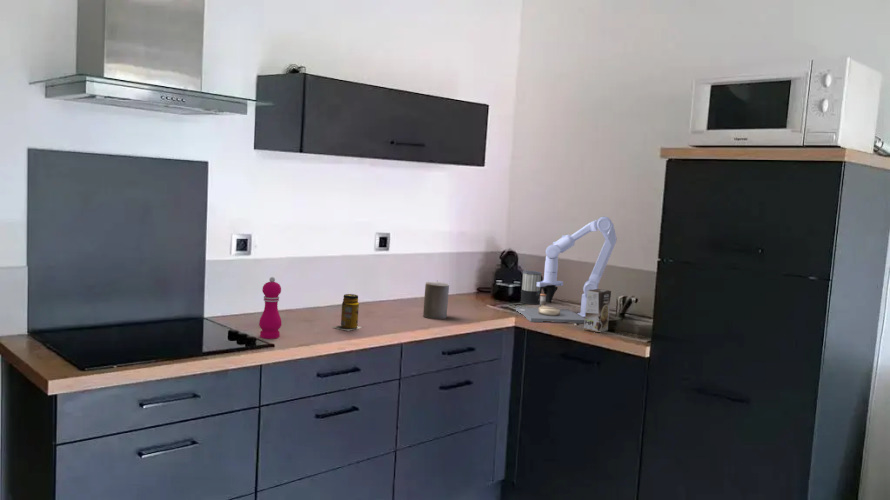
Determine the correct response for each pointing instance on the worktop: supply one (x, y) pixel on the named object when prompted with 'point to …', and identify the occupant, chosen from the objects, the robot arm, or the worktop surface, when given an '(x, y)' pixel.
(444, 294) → the pillar candle
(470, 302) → the worktop surface
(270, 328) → the pepper mill
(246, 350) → the worktop surface
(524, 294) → the milk frother
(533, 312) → the stand board
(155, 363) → the worktop surface
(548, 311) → the cam dial
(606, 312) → the coffee box
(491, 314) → the worktop surface
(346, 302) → the condiment
